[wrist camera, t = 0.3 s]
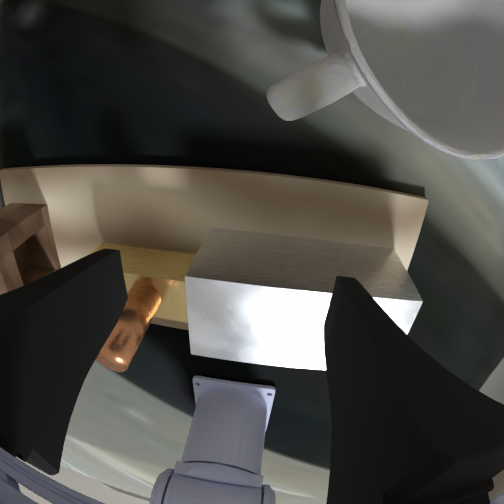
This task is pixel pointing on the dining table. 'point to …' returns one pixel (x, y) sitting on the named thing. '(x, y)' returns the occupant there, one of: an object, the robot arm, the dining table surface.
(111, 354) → the gold square bar
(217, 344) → the steel block
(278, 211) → the birch board
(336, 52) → the teacup
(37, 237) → the walnut socket
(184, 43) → the dining table surface
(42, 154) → the dining table surface
